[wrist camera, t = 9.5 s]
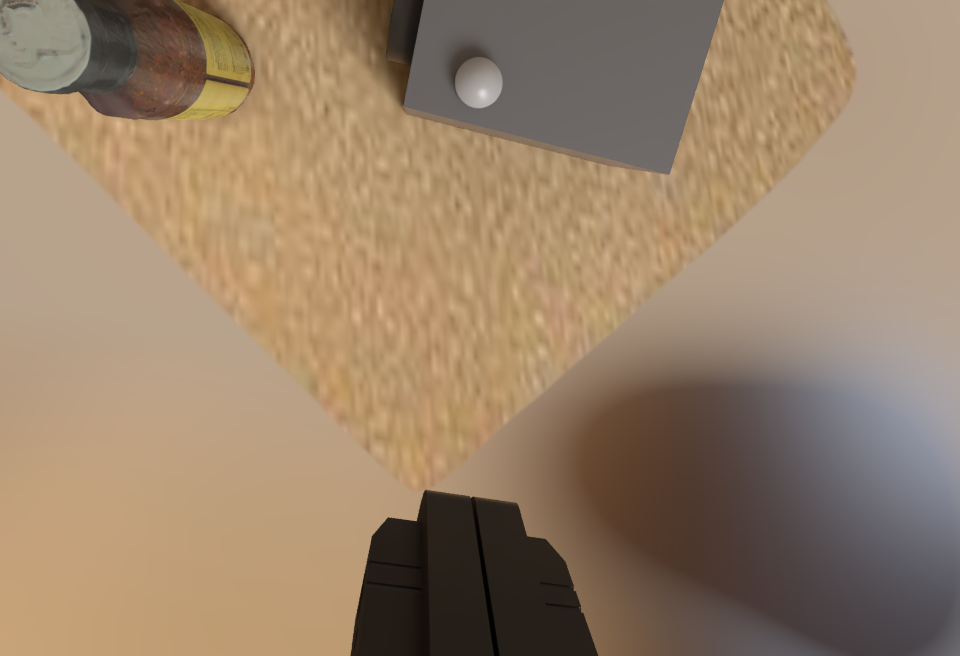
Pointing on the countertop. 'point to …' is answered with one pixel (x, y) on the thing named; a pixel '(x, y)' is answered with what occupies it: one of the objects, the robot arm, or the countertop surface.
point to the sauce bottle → (127, 56)
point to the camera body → (558, 71)
